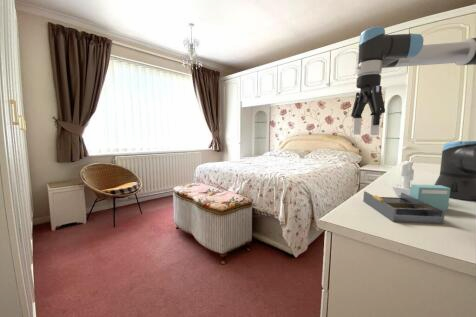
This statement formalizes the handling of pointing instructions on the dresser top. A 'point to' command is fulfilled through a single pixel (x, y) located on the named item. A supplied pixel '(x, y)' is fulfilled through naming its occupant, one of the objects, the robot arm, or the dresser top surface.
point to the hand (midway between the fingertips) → (364, 134)
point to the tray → (405, 209)
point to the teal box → (432, 195)
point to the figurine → (405, 179)
